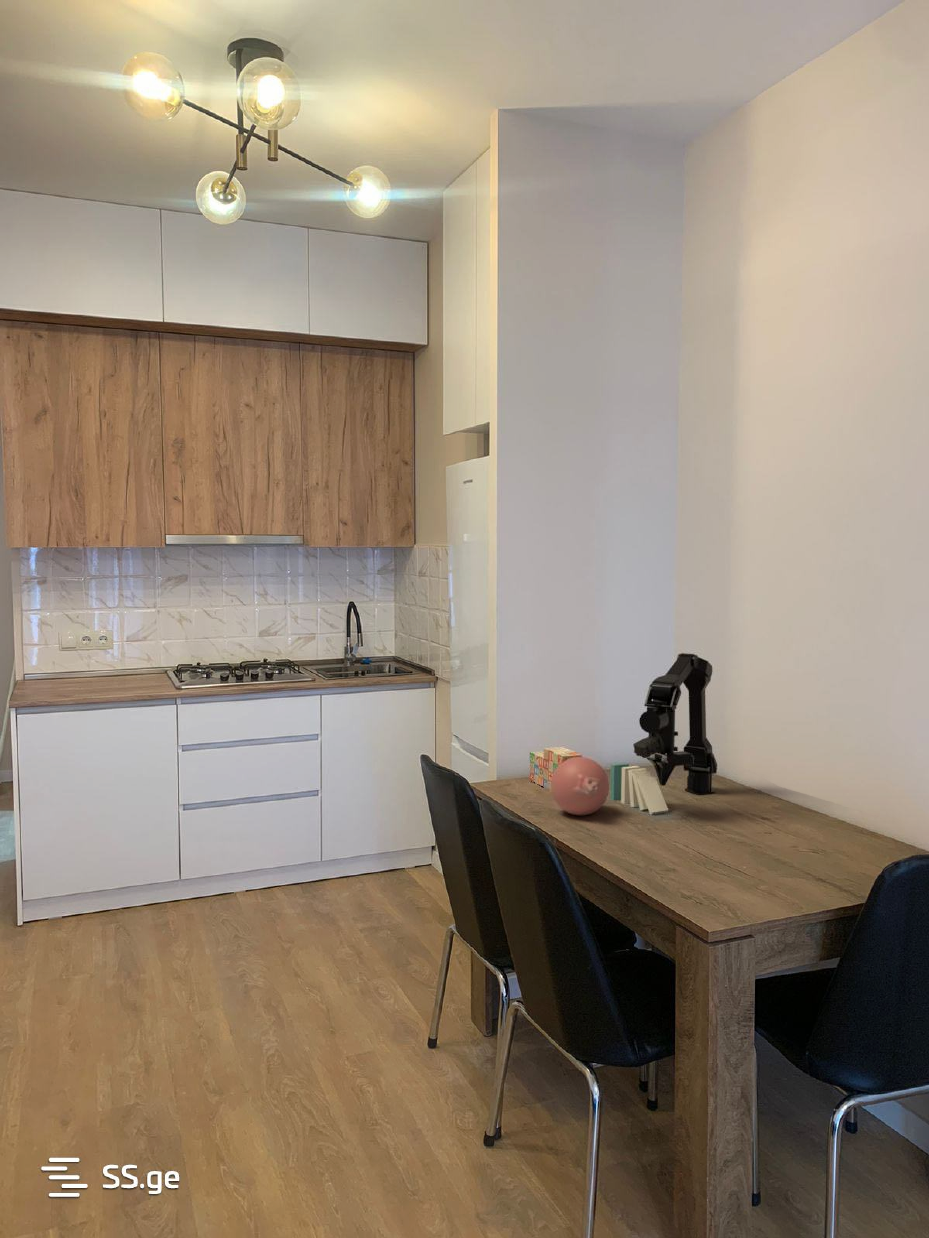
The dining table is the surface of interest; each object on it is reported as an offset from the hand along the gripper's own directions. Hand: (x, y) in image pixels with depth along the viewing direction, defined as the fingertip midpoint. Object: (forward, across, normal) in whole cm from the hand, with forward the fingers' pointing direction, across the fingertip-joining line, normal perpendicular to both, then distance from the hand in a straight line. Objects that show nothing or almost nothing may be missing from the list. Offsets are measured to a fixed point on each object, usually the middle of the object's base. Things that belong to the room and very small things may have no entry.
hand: (662, 785), depth 248 cm
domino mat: (+8, -8, -1) cm, 12 cm away
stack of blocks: (+8, -37, -11) cm, 40 cm away
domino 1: (+8, -13, -1) cm, 15 cm away
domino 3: (+7, -4, -1) cm, 9 cm away
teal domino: (+8, -18, -2) cm, 19 cm away
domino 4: (+7, 0, -1) cm, 7 cm away
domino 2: (+8, -8, -1) cm, 11 cm away
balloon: (+8, -7, -21) cm, 24 cm away
